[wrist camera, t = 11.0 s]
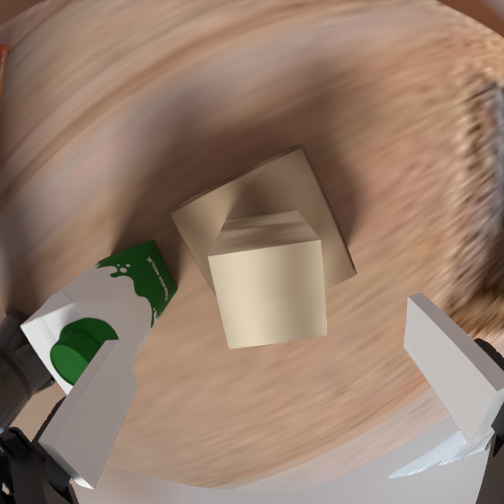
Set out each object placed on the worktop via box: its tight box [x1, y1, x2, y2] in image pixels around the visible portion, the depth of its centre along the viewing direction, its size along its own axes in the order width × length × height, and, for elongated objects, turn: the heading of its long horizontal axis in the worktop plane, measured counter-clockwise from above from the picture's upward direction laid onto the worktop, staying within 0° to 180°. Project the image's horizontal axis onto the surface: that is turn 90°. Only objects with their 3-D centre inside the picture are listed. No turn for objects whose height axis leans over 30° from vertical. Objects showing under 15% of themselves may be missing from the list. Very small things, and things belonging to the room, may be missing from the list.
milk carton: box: [21, 240, 177, 395], centre depth 26 cm, size 9×9×20 cm
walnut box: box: [168, 143, 357, 297], centre depth 30 cm, size 14×14×7 cm
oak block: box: [208, 210, 327, 349], centre depth 22 cm, size 6×6×10 cm
